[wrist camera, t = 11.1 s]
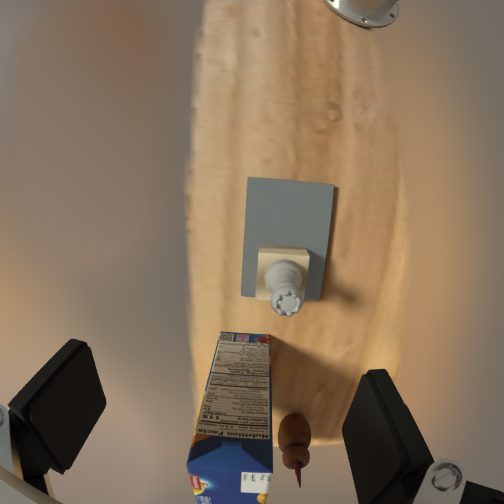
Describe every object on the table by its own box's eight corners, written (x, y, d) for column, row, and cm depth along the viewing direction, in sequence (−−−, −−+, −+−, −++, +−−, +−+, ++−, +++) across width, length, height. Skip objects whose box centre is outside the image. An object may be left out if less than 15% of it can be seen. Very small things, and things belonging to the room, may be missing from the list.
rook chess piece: (302, 257, 33) (313, 282, 26) (300, 292, 34) (309, 325, 27) (264, 257, 33) (264, 282, 26) (263, 292, 35) (263, 325, 27)
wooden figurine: (303, 430, 48) (310, 490, 33) (275, 429, 48) (276, 491, 33) (311, 409, 46) (321, 473, 32) (280, 408, 46) (283, 474, 32)
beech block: (259, 244, 37) (258, 252, 33) (304, 247, 37) (309, 256, 33) (256, 287, 39) (255, 299, 35) (299, 289, 39) (303, 302, 35)
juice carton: (264, 390, 45) (262, 513, 22) (221, 387, 45) (198, 507, 22) (269, 333, 42) (273, 471, 19) (220, 330, 42) (186, 463, 19)
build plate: (248, 177, 36) (247, 177, 35) (332, 184, 36) (334, 184, 35) (241, 293, 40) (240, 295, 39) (318, 297, 40) (319, 300, 39)
